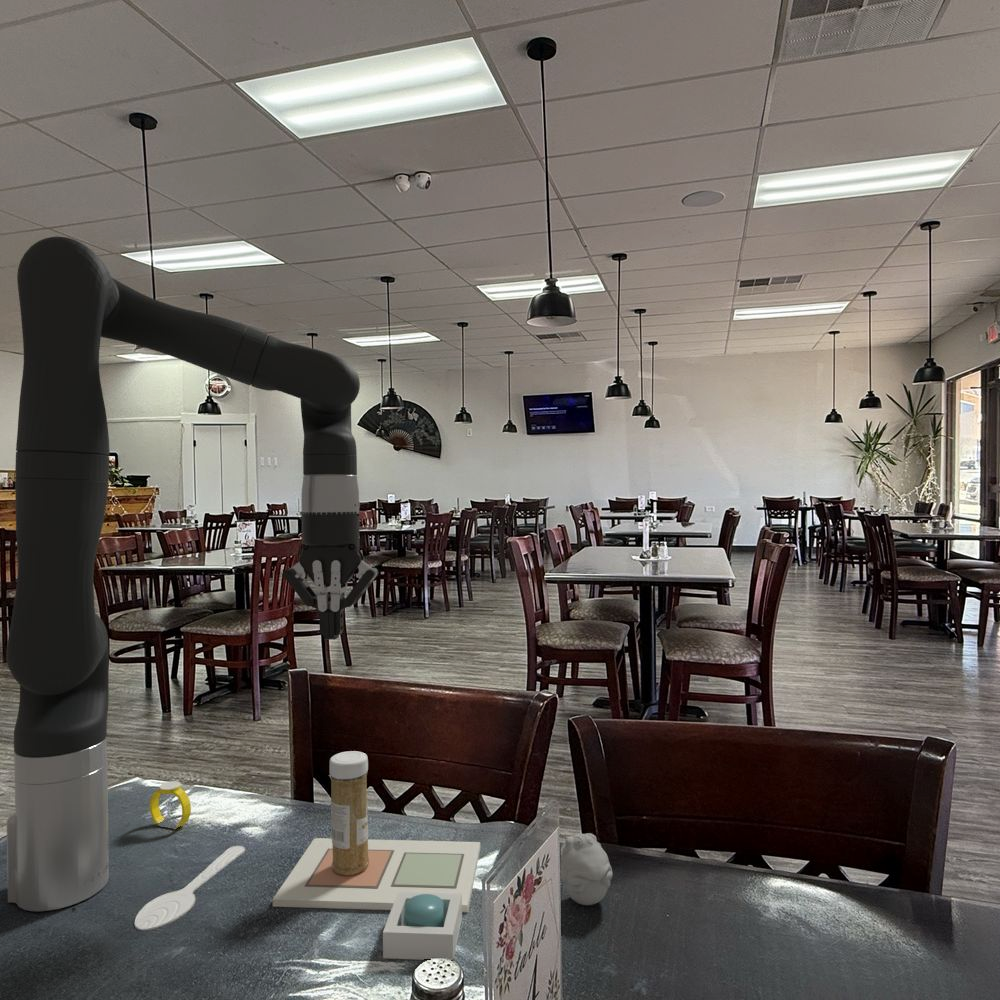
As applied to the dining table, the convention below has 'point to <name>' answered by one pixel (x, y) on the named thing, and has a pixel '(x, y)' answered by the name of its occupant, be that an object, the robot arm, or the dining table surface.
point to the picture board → (381, 874)
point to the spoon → (181, 896)
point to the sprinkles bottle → (349, 812)
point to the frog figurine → (585, 869)
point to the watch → (177, 791)
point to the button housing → (422, 931)
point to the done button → (424, 911)
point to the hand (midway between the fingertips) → (331, 638)
